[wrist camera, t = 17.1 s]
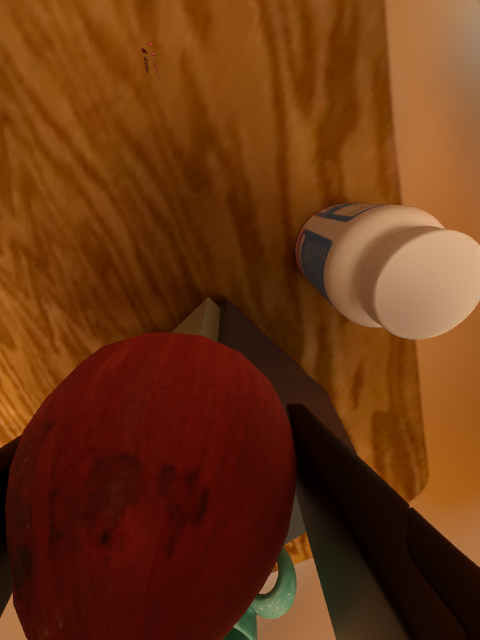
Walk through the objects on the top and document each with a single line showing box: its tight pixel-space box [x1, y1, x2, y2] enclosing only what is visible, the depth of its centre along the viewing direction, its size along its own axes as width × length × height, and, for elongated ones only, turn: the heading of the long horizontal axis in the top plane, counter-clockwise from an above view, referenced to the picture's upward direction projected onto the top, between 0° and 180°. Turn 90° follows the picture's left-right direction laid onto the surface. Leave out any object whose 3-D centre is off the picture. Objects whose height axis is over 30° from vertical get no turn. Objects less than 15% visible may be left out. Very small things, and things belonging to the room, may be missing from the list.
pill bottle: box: [295, 204, 480, 339], centre depth 14 cm, size 6×5×10 cm
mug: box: [222, 547, 296, 640], centre depth 25 cm, size 17×13×10 cm
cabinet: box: [218, 299, 358, 545], centre depth 19 cm, size 12×12×9 cm
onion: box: [5, 332, 299, 640], centre depth 6 cm, size 6×6×8 cm
